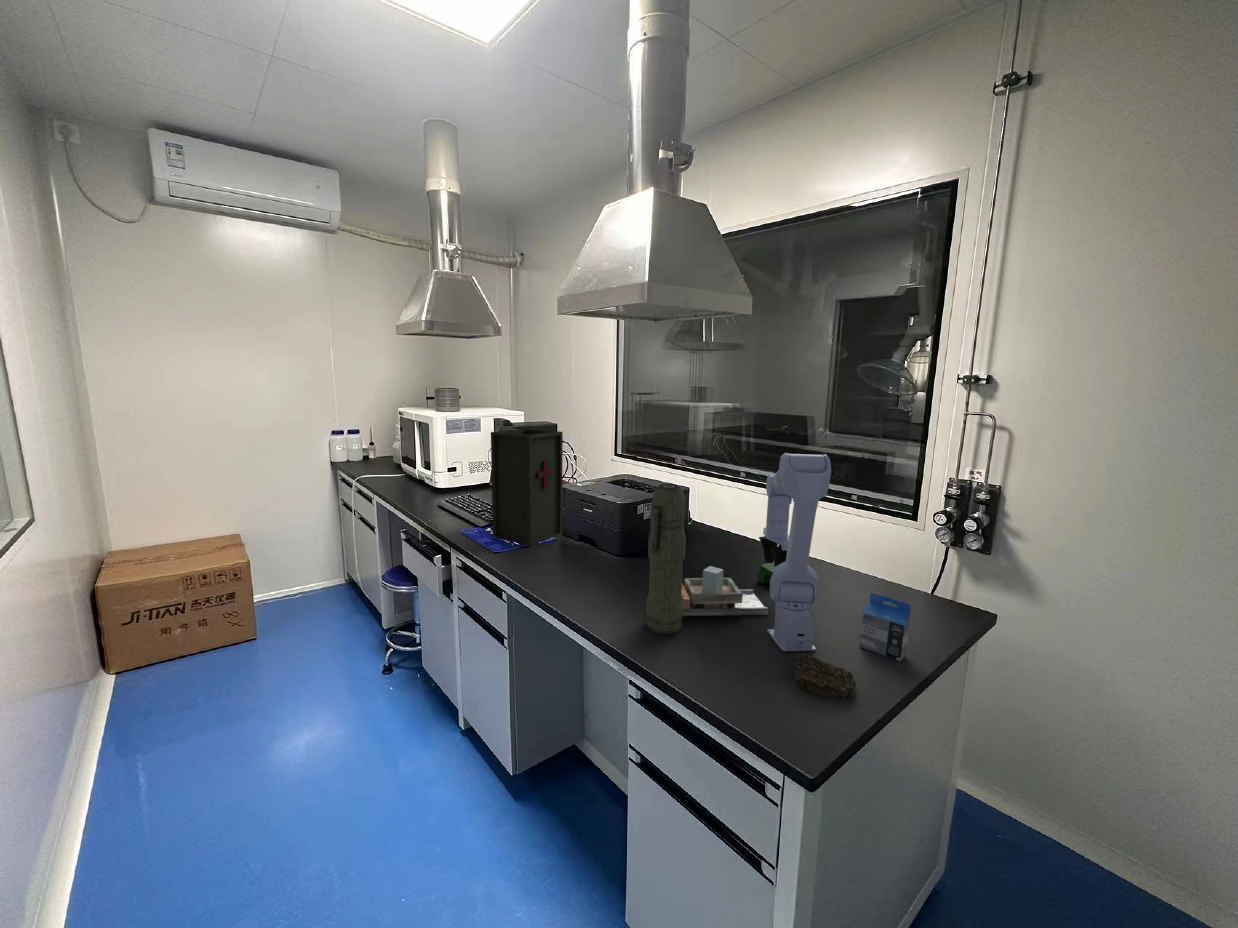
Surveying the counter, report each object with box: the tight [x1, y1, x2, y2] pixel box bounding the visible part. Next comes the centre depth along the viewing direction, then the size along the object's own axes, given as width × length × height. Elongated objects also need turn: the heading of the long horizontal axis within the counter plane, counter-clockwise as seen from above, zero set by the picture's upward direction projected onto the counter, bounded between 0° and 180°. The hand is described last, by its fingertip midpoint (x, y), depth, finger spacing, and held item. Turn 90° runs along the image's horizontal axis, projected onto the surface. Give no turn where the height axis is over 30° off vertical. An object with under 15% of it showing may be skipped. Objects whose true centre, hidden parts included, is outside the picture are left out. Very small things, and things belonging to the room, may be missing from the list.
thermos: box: [645, 483, 687, 635], centre depth 123 cm, size 9×12×35 cm
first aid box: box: [490, 428, 564, 548], centre depth 191 cm, size 18×18×40 cm
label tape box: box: [859, 592, 912, 662], centre depth 114 cm, size 9×4×12 cm, turn 45°
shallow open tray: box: [683, 577, 743, 608], centre depth 137 cm, size 11×13×4 cm
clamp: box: [756, 562, 775, 585], centre depth 154 cm, size 12×6×9 cm, turn 122°
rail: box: [681, 583, 769, 617], centre depth 137 cm, size 12×22×4 cm, turn 94°
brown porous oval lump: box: [792, 652, 856, 699], centre depth 101 cm, size 12×10×5 cm
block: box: [702, 565, 724, 593], centre depth 136 cm, size 4×4×6 cm
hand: (774, 567), depth 140 cm, fingers open, 7 cm apart
